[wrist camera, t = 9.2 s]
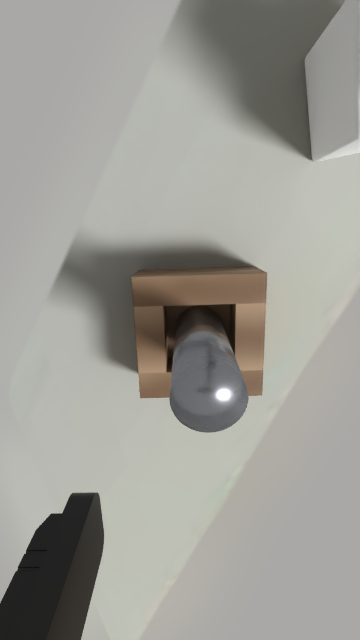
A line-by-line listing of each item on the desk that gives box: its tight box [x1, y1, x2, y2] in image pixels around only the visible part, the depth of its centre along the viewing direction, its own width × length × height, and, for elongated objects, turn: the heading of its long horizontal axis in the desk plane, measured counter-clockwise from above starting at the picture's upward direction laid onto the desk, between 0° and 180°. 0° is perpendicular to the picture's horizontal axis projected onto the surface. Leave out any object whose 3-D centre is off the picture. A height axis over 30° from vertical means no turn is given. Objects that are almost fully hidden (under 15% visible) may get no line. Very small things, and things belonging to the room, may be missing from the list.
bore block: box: [131, 267, 267, 398], centre depth 27 cm, size 10×10×4 cm
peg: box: [170, 305, 248, 432], centre depth 22 cm, size 4×4×12 cm
